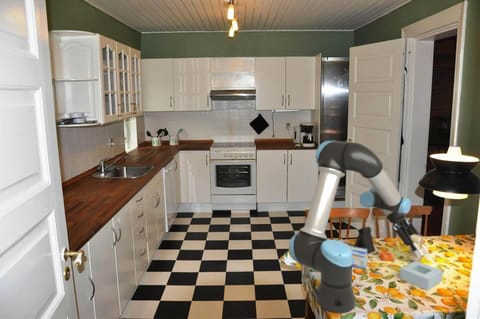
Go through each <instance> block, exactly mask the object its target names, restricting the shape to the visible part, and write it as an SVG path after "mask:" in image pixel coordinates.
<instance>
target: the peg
mask: <svg viewBox="0 0 480 319" xmlns="http://www.w3.org/2000/svg"><path fill="white" fill-rule="evenodd" d="M410 238H411V239H412V241H413V243H415V244H416V245H417V246H418V248H419V249H420V251H421V252H422V247H423V245H424V236H423V235H421V234H420V235H417V234H413V235H411V236H410ZM408 254H409V255H408V256H409V257H408V260H410V261H412V262H414V261H417V262H421V261H422V258H423V256H421V257H420V258H418V256H417V255H416V254H415V252H414V251H413V250H412V248H411V247H410V246H409V252H408Z"/></svg>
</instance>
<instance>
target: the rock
mask: <svg viewBox="0 0 480 319" xmlns="http://www.w3.org/2000/svg"><path fill="white" fill-rule="evenodd" d="M379 259H380V260H381V261H383V262H387V261H393V260H394V259H395V255H394V254H393V253H390V252H387V251H385V250H380V251H379Z"/></svg>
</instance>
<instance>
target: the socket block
mask: <svg viewBox="0 0 480 319" xmlns="http://www.w3.org/2000/svg"><path fill="white" fill-rule="evenodd" d="M443 272H444V271H443V269H442V270H441V269H439V268H437V267H434V266H431V265H428V264H426V263H423V262H421V261H419V262H417V261H412V262H410V263H408V264H406V265H405V266H403V267H401V268H400V273H399V275H400V276H399V279H400V280H401V281H404V282H406V283H408V284H411V285H413V286H416V287H417V288H420V289H423V290H426V291H430V290H431V289H433V288H434V287H436V286H437V285H439V284H440V283H442V282H443Z"/></svg>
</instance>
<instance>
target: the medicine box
mask: <svg viewBox="0 0 480 319" xmlns="http://www.w3.org/2000/svg"><path fill="white" fill-rule="evenodd" d="M349 247H350V248H351V251H352V257H353V263H352V268H357V269H361V270H366V268H367V266H368V254H367V251H368V249H364V248H358V247H354V245H353V246H351V245H350V246H349Z"/></svg>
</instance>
